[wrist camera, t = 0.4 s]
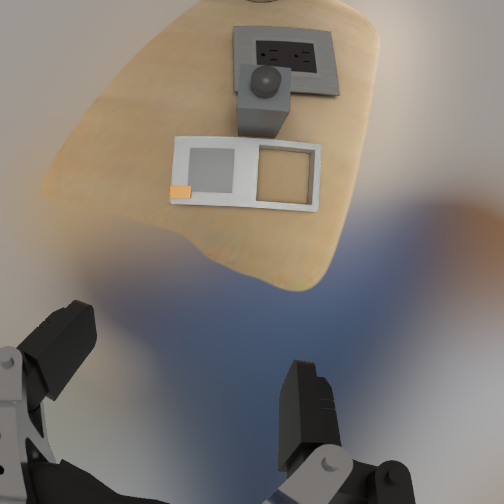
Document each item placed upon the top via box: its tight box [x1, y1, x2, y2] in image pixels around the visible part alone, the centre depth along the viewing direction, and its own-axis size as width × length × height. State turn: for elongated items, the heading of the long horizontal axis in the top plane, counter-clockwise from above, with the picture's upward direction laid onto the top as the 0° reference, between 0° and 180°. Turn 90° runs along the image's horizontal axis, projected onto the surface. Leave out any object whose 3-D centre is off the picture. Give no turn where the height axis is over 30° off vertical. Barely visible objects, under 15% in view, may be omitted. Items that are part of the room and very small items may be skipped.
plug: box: [237, 64, 291, 138], centre depth 26 cm, size 4×4×13 cm
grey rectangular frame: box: [170, 136, 322, 212], centre depth 32 cm, size 8×17×3 cm, turn 87°
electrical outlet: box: [233, 26, 340, 96], centre depth 30 cm, size 13×10×2 cm
